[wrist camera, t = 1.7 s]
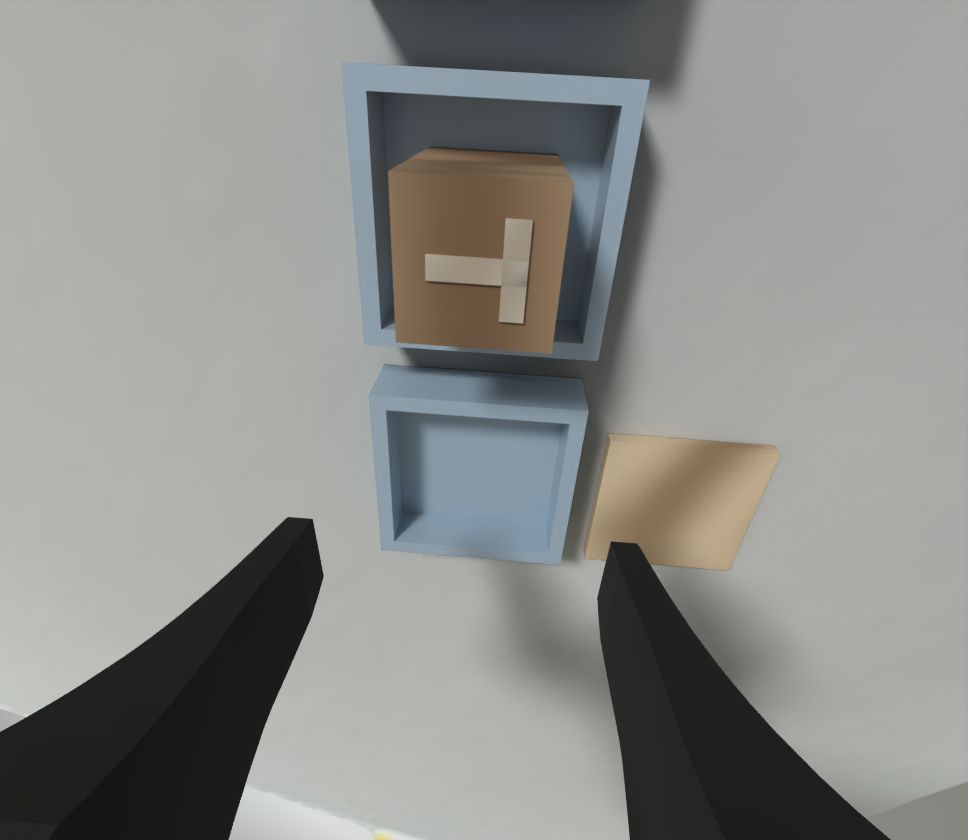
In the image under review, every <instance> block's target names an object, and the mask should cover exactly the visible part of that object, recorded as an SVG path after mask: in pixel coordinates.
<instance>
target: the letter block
mask: <svg viewBox="0 0 968 840" xmlns="http://www.w3.org/2000/svg"><path fill="white" fill-rule="evenodd" d="M388 183H389V205H390V226H391V248H392V269H393V291H394V312H395V334H396V343H408V344H422V345H436V346H450V347H464V348H478V349H492V350H506V351H520V352H534V353H548V354H552V347H553V340H554V332H555V325H556V317H557V309H558V302H559V294H560V286H561V279H562V271H563V263H564V256H565V248H566V240H567V233H568V225H569V218H570V210H571V202H572V195H573V187H574V182H573V180H572V178H571V177H570V175H569V173H568V171H567V170H566V168H565V166H564V164H563V162H562V161H561V159H560V157H559V155H558V154H545V153H529V152H512V151H496V150H480V149H463V148H447V147H431V146H430V147H428V148H427V149H425V150H423V151H421V152H420V153H418V154H416V155H415V156H413V157H411V158H410V159H408V160H406V161H405V162H403V163H401V164H399V165H398V166H396V167H394V168H393V169H391V170H389V171H388Z"/></svg>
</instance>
